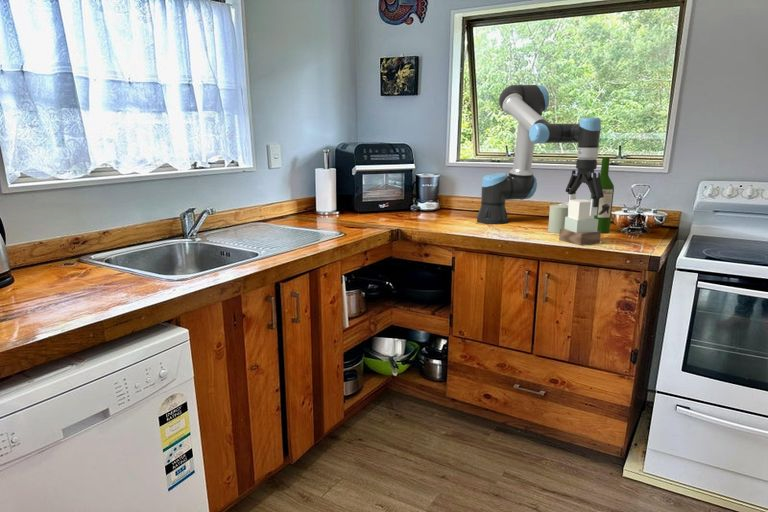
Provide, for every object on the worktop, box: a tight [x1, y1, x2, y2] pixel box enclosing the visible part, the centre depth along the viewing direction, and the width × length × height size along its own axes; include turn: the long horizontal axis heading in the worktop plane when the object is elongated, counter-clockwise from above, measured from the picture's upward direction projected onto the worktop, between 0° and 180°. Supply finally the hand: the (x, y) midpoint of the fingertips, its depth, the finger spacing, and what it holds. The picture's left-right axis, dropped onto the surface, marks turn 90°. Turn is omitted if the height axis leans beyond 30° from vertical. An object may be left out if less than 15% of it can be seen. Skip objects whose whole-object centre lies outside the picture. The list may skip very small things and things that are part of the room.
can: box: [547, 204, 568, 234], centre depth 218 cm, size 9×9×12 cm
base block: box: [558, 229, 602, 246], centre depth 200 cm, size 11×11×5 cm
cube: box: [568, 199, 594, 220], centre depth 197 cm, size 7×7×7 cm
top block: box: [564, 217, 598, 233], centre depth 198 cm, size 9×9×5 cm
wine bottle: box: [590, 156, 615, 235], centre depth 215 cm, size 9×9×32 cm
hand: (581, 212), depth 197 cm, fingers open, 13 cm apart
